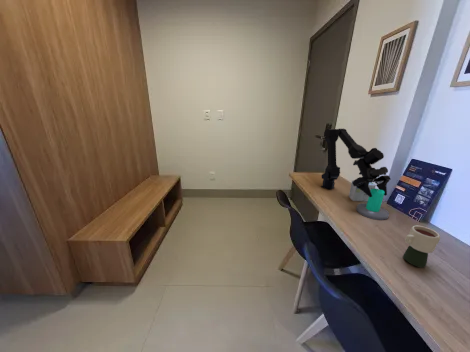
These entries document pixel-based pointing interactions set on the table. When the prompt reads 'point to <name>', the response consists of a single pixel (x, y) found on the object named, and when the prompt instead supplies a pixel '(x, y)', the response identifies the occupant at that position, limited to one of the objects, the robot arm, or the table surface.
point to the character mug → (420, 245)
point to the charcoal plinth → (365, 212)
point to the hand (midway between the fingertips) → (378, 196)
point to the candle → (375, 200)
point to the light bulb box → (359, 193)
